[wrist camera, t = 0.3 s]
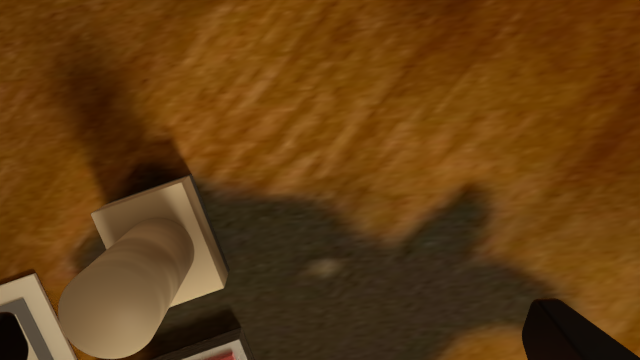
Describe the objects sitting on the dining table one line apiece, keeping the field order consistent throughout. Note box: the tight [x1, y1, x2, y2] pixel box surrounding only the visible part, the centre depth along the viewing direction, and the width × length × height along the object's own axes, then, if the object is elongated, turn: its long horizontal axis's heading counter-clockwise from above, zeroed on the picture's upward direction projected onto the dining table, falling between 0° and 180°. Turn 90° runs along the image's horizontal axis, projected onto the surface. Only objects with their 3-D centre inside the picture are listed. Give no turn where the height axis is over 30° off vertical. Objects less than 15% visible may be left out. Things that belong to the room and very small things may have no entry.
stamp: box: [58, 174, 229, 359], centre depth 19 cm, size 5×4×8 cm
